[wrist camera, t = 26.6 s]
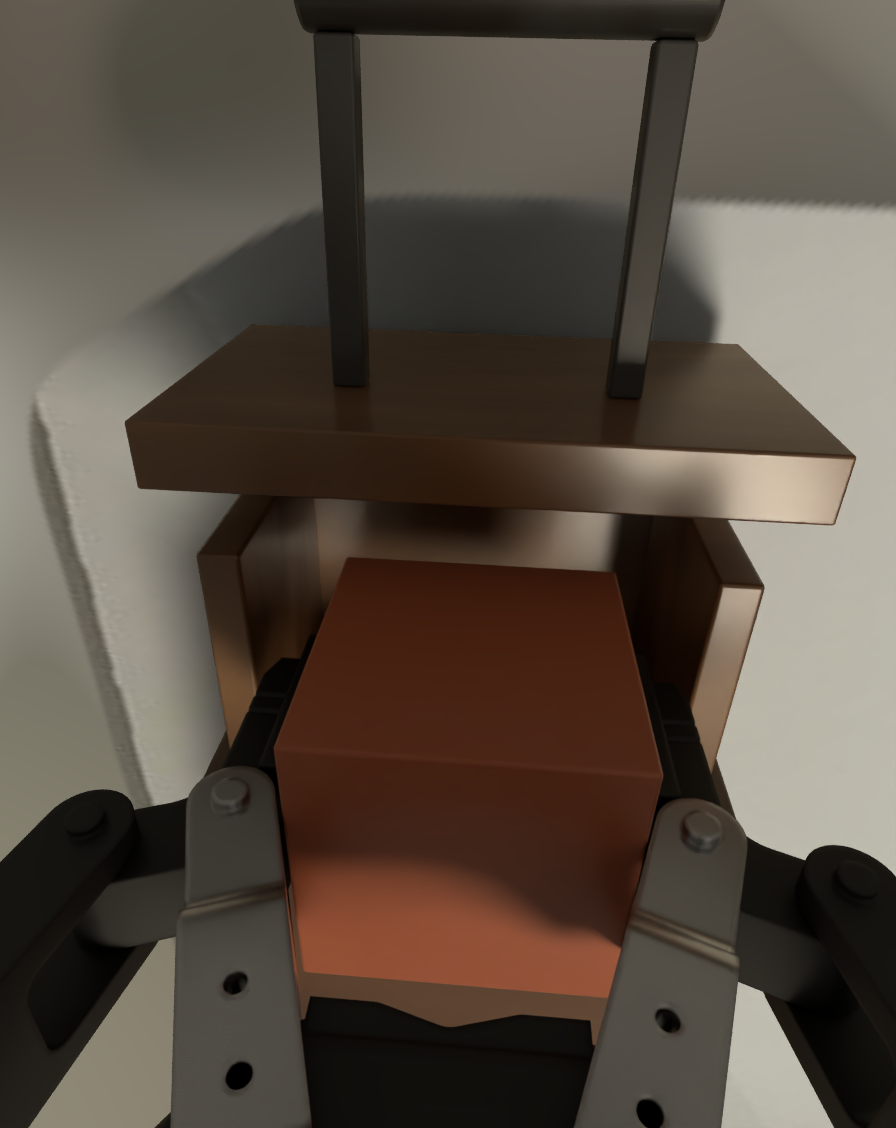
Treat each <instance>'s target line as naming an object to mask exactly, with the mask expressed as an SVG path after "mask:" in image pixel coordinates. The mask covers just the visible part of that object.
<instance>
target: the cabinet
mask: <svg viewBox="0 0 896 1128" xmlns="http://www.w3.org/2000/svg"><path fill="white" fill-rule="evenodd" d="M229 750H230V747H229V741H228V735H227V729H226V731H225V733H224V736H223V738H222V740H221V742H220V744H219V746H218V748H217V750H216V753H215V755H214V757H213V759H212V761H211V763H210V765H209V767H208V770H207V772H206V774H205V776H204V778H205V777H206V776H208V775H209V774H211V773H213V772H215V771H218V770H220V769H221V768H222V766H223V764H224V762H225V759H226V757H227V755H228V753H229ZM711 775H712V778H713V781H714V785H715V788H716V791H717V794H718V797H719V801H720V804H721V807H722V808H723V809H724V810H726V811H727V812H729V813H730V814H731V815H732V816H733V817H734V818H735V819H736V817H735V814H734V811H733V808H732V805H731V802H730V799H729V796H728V793H727V790H726V787H725V784H724V781H723V778H722V775H721V771H720V768H719V765H718V762H717V759H716V760H715V764H714V767H713V771H712V774H711ZM288 890H289V898H290V906H291V915H292V924H293V932H294V941H295V949H296V958H297V967H298V975H299V984H300V992H301V1001H302V1009H303V1017H304V1019H305V1016H306V1012H307V1008H308V1003H309V999H310V996H316V997H327V998H339V999H350V1000H362V1001H373V1002H380V1003H382V1004H385V1005H388V1006H390V1007H393V1008H396V1009H398V1010H401V1011H404V1012H406V1013H409V1014H412V1015H414V1016H417V1017H419V1018H422V1019H425V1020H427V1021H430V1022H433V1023H435V1024H438V1025H441V1026H445V1027H456V1026H461V1025H467V1024H472V1023H477V1022H483V1021H488V1020H493V1019H498V1018H504V1017H509V1016H514V1015H520V1014H523V1015H534V1016H546V1017H557V1018H569V1019H580V1020H591V1031H592V1042H593V1044H594V1045H596V1042H597V1038H598V1034H599V1031H600V1027H601V1023H602V1019H603V1015H604V1012H605V1008H606V1004H607V1000H608V998H601V997H589V996H578V995H566V994H555V993H543V992H532V991H520V990H508V989H497V988H485V987H474V986H462V985H451V984H439V983H427V982H416V981H404V980H393V979H381V978H370V977H358V976H346V975H335V974H323V973H312V972H306V971H304V970H303V966H302V959H301V951H300V944H299V936H298V929H297V921H296V914H295V906H294V899H293V891H292V884H291V883H290V886H289V889H288ZM632 908H633V906H632ZM631 912H632V910H631Z"/></svg>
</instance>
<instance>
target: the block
mask: <svg viewBox="0 0 896 1128" xmlns="http://www.w3.org/2000/svg"><path fill="white" fill-rule="evenodd" d="M274 755H275V763H276V770H277V778H278V785H279V793H280V801H281V808H282V816H283V823H284V831H285V838H286V846H287V853H288V861H289V868H290V876H291V884H292V891H293V899H294V906H295V914H296V921H297V929H298V936H299V944H300V951H301V959H302V966H303V970H304V971H306V972H312V973H323V974H335V975H346V976H358V977H370V978H381V979H393V980H404V981H416V982H427V983H439V984H451V985H462V986H474V987H485V988H497V989H508V990H520V991H532V992H543V993H555V994H566V995H578V996H589V997H601V998H608V996H609V993H610V989H611V985H612V981H613V978H614V974H615V970H616V966H617V962H618V959H619V955H620V951H621V947H622V943H623V940H624V936H625V932H626V928H627V925H628V921H629V917H630V914H631V910H632V906H633V902H634V898H635V893H636V889H637V885H638V881H639V876H640V872H641V868H642V864H643V860H644V855H645V851H646V847H647V843H648V839H649V834H650V830H651V826H652V822H653V818H654V813H655V809H656V805H657V801H658V797H659V792H660V788H661V784H662V780H663V771H662V767H661V763H660V759H659V754H658V750H657V746H656V742H655V737H654V733H653V729H652V725H651V720H650V716H649V712H648V708H647V703H646V699H645V695H644V691H643V686H642V682H641V678H640V674H639V669H638V665H637V661H636V657H635V652H634V648H633V644H632V640H631V635H630V631H629V627H628V623H627V618H626V614H625V610H624V606H623V601H622V597H621V593H620V589H619V584H618V580H617V576H616V574H615V573H614V572H605V571H588V570H570V569H552V568H535V567H517V566H499V565H482V564H464V563H446V562H429V561H411V560H393V559H376V558H358V557H348V558H346V561H345V563H344V566H343V569H342V571H341V574H340V576H339V579H338V582H337V584H336V587H335V589H334V592H333V595H332V597H331V600H330V602H329V605H328V608H327V610H326V613H325V615H324V618H323V621H322V623H321V626H320V628H319V631H318V634H317V636H316V639H315V641H314V644H313V647H312V649H311V652H310V654H309V657H308V660H307V662H306V665H305V667H304V670H303V673H302V675H301V678H300V680H299V683H298V686H297V688H296V691H295V694H294V696H293V699H292V701H291V704H290V707H289V709H288V712H287V714H286V717H285V720H284V722H283V725H282V727H281V730H280V733H279V735H278V738H277V740H276V743H275V746H274Z"/></svg>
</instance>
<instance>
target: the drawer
mask: <svg viewBox="0 0 896 1128" xmlns="http://www.w3.org/2000/svg"><path fill="white" fill-rule="evenodd" d="M724 2H725V0H294V4H295V8H296V12H297V15H298V18H299V21H300V23H301V26H302V27H303V29H304V30H305V31H307V32H309V33H314V36H313V37H314V54H315V55H314V56H315V73H316V90H317V108H318V127H319V144H320V161H321V179H322V197H323V215H324V233H325V251H326V268H327V286H328V304H329V322H330V327H308V326H284V325H260V324H252V325H251V326H249V327H248V328H247V329H245V330H244V331H243V332H241V333H240V334H239V335H237V336H236V337H235V338H234V339H232V340H231V341H230V342H228V343H227V344H226V345H224V346H223V347H222V348H220V349H219V350H218V351H216V352H215V353H214V354H213V355H211V356H210V357H209V358H207V359H206V360H205V361H203V362H202V363H201V364H199V365H198V366H197V367H195V368H194V369H193V370H192V371H190V372H189V373H188V374H186V375H185V376H184V377H182V378H181V379H180V380H178V381H177V382H176V383H174V384H173V385H172V386H171V387H169V388H168V389H167V390H165V391H164V392H163V393H161V394H160V395H159V396H157V397H156V398H155V399H154V400H152V401H151V402H150V403H148V404H147V405H146V406H144V407H143V408H142V409H140V410H139V411H138V412H136V413H135V414H134V415H133V416H131V417H130V418H129V419H127V420H126V421H125V427H126V432H127V437H128V441H129V446H130V451H131V456H132V461H133V465H134V470H135V475H136V480H137V485H138V487H139V488H140V489H155V490H174V491H193V492H212V493H231V494H240V496H239V497H238V498H237V500H236V501H235V503H234V504H233V505H232V507H231V508H230V509H229V511H228V512H227V513H226V515H225V516H224V517H223V519H222V520H221V522H220V523H219V524H218V526H217V527H216V528H215V530H214V531H213V532H212V534H211V535H210V537H209V538H208V539H207V541H206V542H205V543H204V545H203V546H202V547H201V549H200V550H199V551H198V553H197V561H198V567H199V573H200V579H201V584H202V590H203V596H204V602H205V608H206V613H207V619H208V625H209V631H210V637H211V642H212V648H213V654H214V660H215V665H216V671H217V677H218V683H219V689H220V694H221V700H222V706H223V712H224V718H225V723H226V729H227V735H228V741H229V747H230V748H231V746H232V744H233V742H234V739H235V737H236V735H237V733H238V731H239V728H240V726H241V724H242V722H243V719H244V717H245V715H246V713H247V712H248V711H249V706H250V704H251V702H252V699H253V697H254V696H255V695H256V691H257V688H258V686H259V684H260V682H261V680H262V677H263V675H264V673H265V672H266V671H268V670H269V669H270V668H271V667H272V666H273V665H274V664H275V663H277V662H278V661H279V660H280V659H281V658H282V657H283V658H299V659H300V658H301V655H302V653H303V650H304V648H305V645H306V643H307V640H308V638H309V636H310V635H311V634H318V631H319V628H320V626H321V623H322V621H323V618H324V615H325V613H326V610H327V608H328V605H329V602H330V600H331V597H332V595H333V592H334V589H335V587H336V584H337V582H338V579H339V576H340V574H341V571H342V569H343V566H344V563H345V561H346V558H348V557H358V558H376V559H393V560H411V561H429V562H446V563H464V564H482V565H499V566H517V567H535V568H552V569H570V570H588V571H605V572H614V573H615V574H616V576H617V580H618V584H619V589H620V593H621V597H622V601H623V606H624V610H625V614H626V618H627V623H628V627H629V631H630V635H631V640H632V644H633V648H634V652H635V654H639V655H645V656H646V658H647V662H648V666H649V670H650V674H651V677H652V681H653V682H666V683H673V684H674V686H675V687H676V688H677V689H678V690H679V691H680V692H681V693H682V695H683V696H684V697H685V698H686V699H687V700H688V701H689V704H690V707H691V710H692V714H693V717H694V720H695V727H697V730H698V733H699V736H700V743H701V744H702V746H703V749H704V752H705V756H706V759H707V762H708V765H709V768H710V772H711V774H712V771H713V767H714V764H715V760H716V757H717V753H718V750H719V746H720V743H721V739H722V736H723V732H724V729H725V725H726V722H727V718H728V715H729V711H730V708H731V704H732V701H733V697H734V694H735V690H736V687H737V683H738V680H739V676H740V673H741V669H742V666H743V662H744V659H745V655H746V652H747V648H748V645H749V641H750V638H751V634H752V631H753V627H754V624H755V620H756V617H757V613H758V610H759V606H760V603H761V599H762V596H763V592H764V589H765V588H764V584H763V583H762V581H761V579H760V577H759V575H758V574H757V572H756V570H755V568H754V566H753V565H752V563H751V561H750V559H749V557H748V556H747V554H746V552H745V550H744V548H743V547H742V545H741V543H740V541H739V539H738V538H737V536H736V534H735V532H734V530H733V529H732V527H731V525H730V523H729V521H728V520H739V521H758V522H777V523H796V524H815V525H834V524H835V522H836V519H837V516H838V513H839V510H840V507H841V504H842V501H843V498H844V495H845V492H846V489H847V486H848V483H849V479H850V476H851V473H852V470H853V467H854V464H855V461H856V456H855V455H854V454H853V453H852V452H851V451H850V450H849V449H848V448H847V447H846V446H844V445H843V444H842V443H841V442H840V441H839V440H838V439H837V438H836V437H835V436H834V435H833V434H832V433H831V432H830V431H829V430H828V429H827V428H826V427H824V426H823V425H822V424H821V423H820V422H819V421H818V420H817V419H816V418H815V417H814V416H813V415H812V414H811V413H810V412H809V411H808V410H807V409H806V408H804V407H803V406H802V405H801V404H800V403H799V402H798V401H797V400H796V399H795V398H794V397H793V396H792V395H791V394H790V393H789V392H788V391H787V390H786V389H784V388H783V387H782V386H781V385H780V384H779V383H778V382H777V381H776V380H775V379H774V378H773V377H772V376H771V375H770V374H769V373H768V372H767V371H766V370H765V369H763V368H762V367H761V366H760V365H759V364H758V363H757V362H756V361H755V360H754V359H753V358H752V357H751V356H750V355H749V354H748V353H747V352H746V351H745V350H743V349H742V348H741V347H740V346H739V345H738V344H719V343H695V342H671V341H651V337H652V331H653V325H654V318H655V312H656V306H657V300H658V293H659V287H660V281H661V275H662V269H663V262H664V256H665V250H666V244H667V237H668V231H669V225H670V219H671V213H672V206H673V200H674V194H675V188H676V182H677V175H678V169H679V163H680V157H681V150H682V144H683V138H684V132H685V126H686V119H687V113H688V107H689V101H690V94H691V88H692V81H693V76H694V69H695V63H696V56H697V51H698V42H699V41H700V42H701V41H702V42H703V41H705V40H708V39H709V38H710V37H711V36H712V34H713V32H714V30H715V28H716V25H717V24H718V21H719V18H720V16H721V12H722V9H723V6H724ZM354 34H371V35H416V36H419V35H420V36H464V37H509V38H557V39H604V40H651V41H652V40H653V41H654V40H655V41H657V42H655V43H653V44H652V46H651V51H650V59H649V66H648V73H647V81H646V88H645V96H644V103H643V111H642V118H641V125H640V133H639V140H638V148H637V155H636V164H635V170H634V178H633V185H632V192H631V200H630V207H629V215H628V222H627V230H626V237H625V245H624V252H623V260H622V267H621V274H620V282H619V289H618V297H617V304H616V312H615V319H614V327H613V334H612V339H598V338H574V337H550V336H526V335H502V334H477V333H453V332H429V331H405V330H381V329H368V301H367V268H366V235H365V203H364V170H363V137H362V104H361V73H360V40H359V38H358V37H357V36H355V35H354Z"/></svg>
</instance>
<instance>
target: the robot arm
mask: <svg viewBox="0 0 896 1128" xmlns="http://www.w3.org/2000/svg"><path fill="white" fill-rule="evenodd" d="M316 636H317V634H311V635H310V636H309V638H308V640H307V643H306V645H305V648H304V650H303V653H302V655H301V658H300V659H299V658H283V657H282V658H281V659H280V660H279V661H278V662H277V663H275V664H274V665H273V666H272V667H271V668H270V669H269V670H268V671H266V672H265V673H264V675H263V677H262V680H261V682H260V684H259V686H258V688H257V691H256V695H255V696H254V697H253V699H252V702H251V704H250V706H249V711H248V712H247V713H246V715H245V717H244V719H243V722H242V724H241V726H240V728H239V731H238V733H237V735H236V737H235V739H234V742H233V744H232V746H231V748H230V750H229V753H228V755H227V757H226V759H225V762H224V764H223V766H222V768H221V769H220V770H218V771H215V772H213V773H211V774H209V775H208V776H206V777H205V778H203V779H202V780H201V781H200V782H198V783H197V784H196V786H195V787H194V788H193V789H192V791H191V793H190V794H189V797H188V798H185V799H183V800H180V801H176V802H172V803H168V804H163V805H157V806H152V807H147V808H142V809H136V810H134V808H133V805H132V803H131V801H130V800H129V799H128V797H126V796H125V795H124V794H122V793H119V792H117V791H113V790H103V789H102V790H92V791H87V792H84V793H81V794H78V795H75V796H73V797H71V798H69V799H67V800H65V801H64V802H62V803H61V804H59V805H58V806H56V807H55V808H54V809H53V810H52V811H51V812H50V813H49V814H48V815H47V816H46V817H45V818H44V819H43V820H42V821H41V822H40V823H39V824H38V825H37V826H36V827H35V828H34V829H33V830H32V831H31V832H30V833H29V834H28V835H27V836H26V837H25V838H24V839H23V840H22V841H21V842H20V843H19V844H18V845H17V846H16V847H15V848H14V849H13V850H12V851H11V852H10V853H9V854H8V855H7V856H6V857H5V858H4V859H3V860H2V861H1V862H0V1128H28V1127H29V1126H30V1125H31V1123H32V1122H33V1120H34V1119H35V1117H36V1116H37V1115H38V1113H39V1112H40V1110H41V1108H42V1107H43V1106H44V1105H45V1103H46V1102H47V1100H48V1099H49V1097H50V1096H51V1095H52V1093H53V1092H54V1090H55V1089H56V1087H57V1086H58V1084H59V1083H60V1082H61V1080H62V1079H63V1077H64V1076H65V1074H66V1073H67V1072H68V1070H69V1069H70V1067H71V1066H72V1064H73V1063H74V1062H75V1060H76V1058H77V1057H78V1056H79V1054H80V1053H81V1052H82V1050H83V1049H84V1047H85V1046H86V1044H87V1043H88V1041H89V1040H90V1039H91V1037H92V1036H93V1034H94V1033H95V1031H96V1030H97V1029H98V1027H99V1026H100V1024H101V1023H102V1021H103V1020H104V1019H105V1017H106V1016H107V1014H108V1013H109V1011H110V1010H111V1009H112V1007H113V1006H114V1004H115V1003H116V1001H117V1000H118V998H119V997H120V996H121V994H122V993H123V991H124V990H125V988H126V987H127V986H128V984H129V983H130V981H131V980H132V978H133V977H134V976H135V974H136V973H137V971H138V970H139V968H140V967H141V966H142V964H143V963H144V961H145V960H146V958H147V957H148V956H149V954H150V953H151V951H152V950H153V948H154V947H155V946H156V944H157V942H158V941H159V940H163V939H167V938H171V937H176V954H175V989H174V1026H173V1059H172V1060H173V1061H172V1093H171V1094H172V1095H171V1112H170V1113H169V1114H168V1115H167V1116H166V1117H165V1118H164V1119H163V1120H162V1121H161V1122H160V1123H159V1124H158V1125H157V1126H156V1127H155V1128H721V1124H722V1115H723V1106H724V1098H725V1089H726V1080H727V1072H728V1063H729V1054H730V1046H731V1037H732V1028H733V1020H734V1011H735V1002H736V994H737V985H738V982H740V983H743V984H745V985H748V986H750V987H753V988H755V989H758V990H760V991H763V993H764V995H765V997H766V999H767V1001H768V1003H769V1005H770V1007H771V1009H772V1011H773V1012H774V1014H775V1016H776V1018H777V1020H778V1022H779V1024H780V1026H781V1028H782V1030H783V1031H784V1033H785V1035H786V1037H787V1039H788V1041H789V1043H790V1045H791V1047H792V1049H793V1050H794V1052H795V1054H796V1056H797V1058H798V1060H799V1062H800V1064H801V1066H802V1068H803V1069H804V1071H805V1073H806V1075H807V1077H808V1079H809V1081H810V1083H811V1085H812V1087H813V1088H814V1090H815V1092H816V1094H817V1096H818V1098H819V1100H820V1102H821V1104H822V1105H823V1107H824V1109H825V1111H826V1113H827V1115H828V1117H829V1119H830V1121H831V1123H832V1124H833V1126H834V1128H896V876H895V875H894V874H893V873H892V872H891V871H890V870H889V869H888V868H887V867H886V866H884V865H883V864H882V863H880V862H879V861H878V860H876V859H875V858H873V857H871V856H869V855H868V854H866V853H863V852H861V851H859V850H856V849H853V848H850V847H845V846H838V845H827V846H822V847H819V848H817V849H815V850H813V851H812V852H811V853H810V854H809V855H808V857H807V858H806V860H802V859H799V858H796V857H793V856H790V855H788V854H785V853H782V852H779V851H776V850H773V849H770V848H767V847H765V846H762V845H760V844H759V843H757V842H755V841H753V840H751V839H750V838H748V837H747V836H746V834H745V832H744V830H743V828H742V827H741V825H740V824H739V822H738V821H737V820H736V819H735V818H734V817H733V816H732V815H731V814H730V813H729V812H727V811H726V810H724V809H723V808H722V807H721V804H720V801H719V797H718V794H717V791H716V788H715V785H714V781H713V778H712V775H711V772H710V768H709V765H708V762H707V759H706V756H705V752H704V749H703V746H702V744H701V743H700V736H699V733H698V730H697V727H695V720H694V717H693V714H692V710H691V707H690V704H689V701H688V700H687V699H686V698H685V697H684V696H683V695H682V693H681V692H680V691H679V690H678V689H677V688H676V687H675V686H674V684H673V683H666V682H653V681H652V677H651V674H650V670H649V666H648V662H647V658H646V656H645V655H639V654H635V657H636V661H637V665H638V669H639V674H640V678H641V682H642V686H643V691H644V695H645V699H646V703H647V708H648V712H649V716H650V720H651V725H652V729H653V733H654V737H655V742H656V746H657V750H658V754H659V759H660V763H661V767H662V771H663V780H662V784H661V788H660V792H659V797H658V801H657V805H656V809H655V813H654V818H653V822H652V826H651V830H650V834H649V839H648V843H647V847H646V851H645V855H644V860H643V864H642V868H641V872H640V876H639V881H638V885H637V889H636V893H635V898H634V902H633V908H632V912H631V914H630V917H629V921H628V925H627V928H626V932H625V936H624V940H623V943H622V947H621V951H620V955H619V959H618V962H617V966H616V970H615V974H614V978H613V981H612V985H611V989H610V993H609V996H608V1000H607V1004H606V1008H605V1012H604V1015H603V1019H602V1023H601V1027H600V1031H599V1034H598V1038H597V1042H596V1045H594V1044H593V1042H592V1031H591V1020H580V1019H569V1018H557V1017H546V1016H534V1015H523V1014H520V1015H514V1016H509V1017H504V1018H498V1019H493V1020H488V1021H483V1022H477V1023H472V1024H467V1025H461V1026H456V1027H445V1026H441V1025H438V1024H435V1023H433V1022H430V1021H427V1020H425V1019H422V1018H419V1017H417V1016H414V1015H412V1014H409V1013H406V1012H404V1011H401V1010H398V1009H396V1008H393V1007H390V1006H388V1005H385V1004H382V1003H380V1002H373V1001H362V1000H350V999H339V998H327V997H316V996H310V999H309V1003H308V1008H307V1012H306V1016H305V1019H304V1017H303V1009H302V1001H301V992H300V984H299V975H298V967H297V958H296V949H295V941H294V932H293V924H292V915H291V906H290V898H289V890H288V889H289V886H290V883H291V876H290V868H289V861H288V853H287V846H286V838H285V831H284V823H283V816H282V808H281V801H280V793H279V785H278V778H277V770H276V763H275V755H274V746H275V743H276V740H277V738H278V735H279V733H280V730H281V727H282V725H283V722H284V720H285V717H286V714H287V712H288V709H289V707H290V704H291V701H292V699H293V696H294V694H295V691H296V688H297V686H298V683H299V680H300V678H301V675H302V673H303V670H304V667H305V665H306V662H307V660H308V657H309V654H310V652H311V649H312V647H313V644H314V641H315V639H316Z"/></svg>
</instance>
